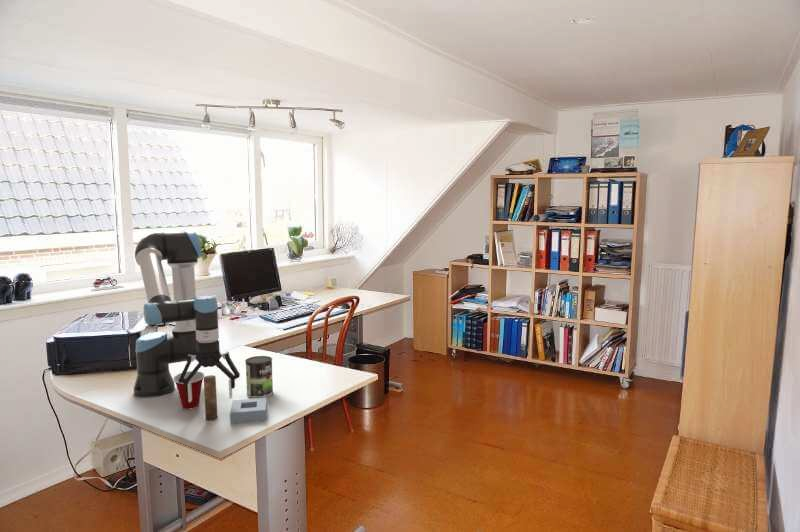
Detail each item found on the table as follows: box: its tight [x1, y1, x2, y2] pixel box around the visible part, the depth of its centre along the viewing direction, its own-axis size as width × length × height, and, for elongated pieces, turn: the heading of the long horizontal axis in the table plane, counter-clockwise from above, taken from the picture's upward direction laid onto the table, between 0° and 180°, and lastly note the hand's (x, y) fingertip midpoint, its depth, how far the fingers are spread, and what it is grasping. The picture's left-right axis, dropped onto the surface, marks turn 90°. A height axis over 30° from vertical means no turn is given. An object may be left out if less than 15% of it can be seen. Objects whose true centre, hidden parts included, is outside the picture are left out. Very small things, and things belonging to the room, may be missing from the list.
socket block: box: [229, 397, 268, 425], centre depth 191 cm, size 12×12×4 cm
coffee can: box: [244, 355, 274, 399], centre depth 212 cm, size 10×10×14 cm
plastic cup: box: [172, 370, 205, 410], centre depth 199 cm, size 11×11×12 cm
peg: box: [203, 374, 218, 421], centre depth 188 cm, size 4×4×15 cm
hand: (210, 399), depth 188 cm, fingers open, 13 cm apart
